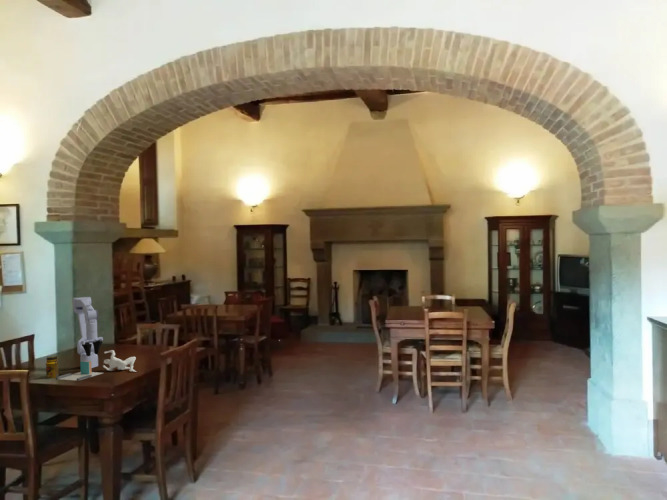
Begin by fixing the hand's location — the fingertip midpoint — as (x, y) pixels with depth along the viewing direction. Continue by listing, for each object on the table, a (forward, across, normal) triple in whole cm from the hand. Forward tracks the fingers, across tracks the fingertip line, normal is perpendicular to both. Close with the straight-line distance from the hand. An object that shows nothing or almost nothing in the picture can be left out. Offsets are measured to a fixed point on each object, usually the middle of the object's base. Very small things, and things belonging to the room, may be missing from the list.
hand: (92, 355), depth 301 cm
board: (+10, -10, 0) cm, 14 cm away
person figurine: (+11, +7, -13) cm, 18 cm away
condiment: (+11, -15, +13) cm, 23 cm away
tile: (+10, -5, 0) cm, 11 cm away
